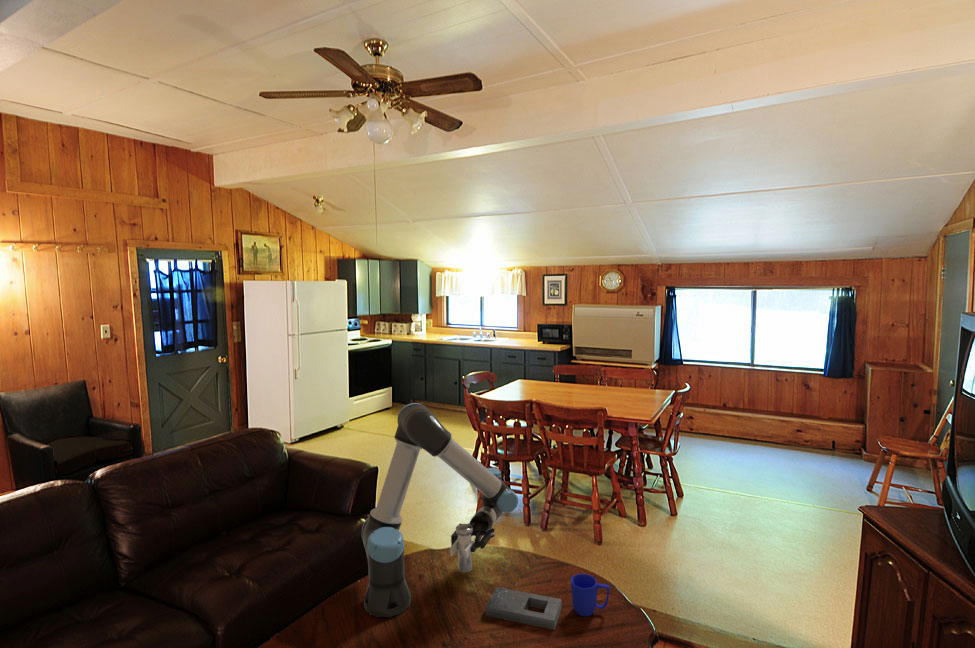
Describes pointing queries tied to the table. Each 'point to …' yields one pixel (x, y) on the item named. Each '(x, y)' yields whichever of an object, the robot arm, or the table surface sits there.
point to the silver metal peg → (464, 547)
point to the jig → (524, 608)
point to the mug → (586, 594)
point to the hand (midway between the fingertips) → (458, 553)
